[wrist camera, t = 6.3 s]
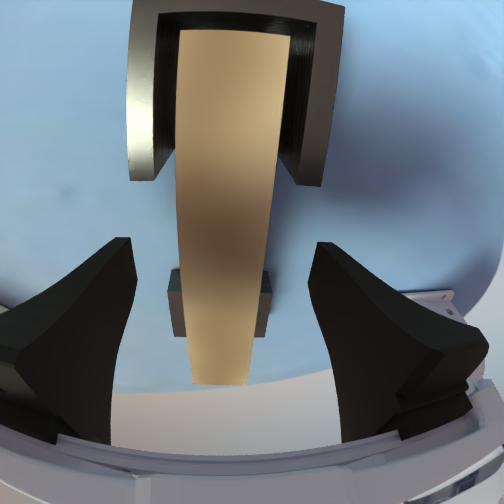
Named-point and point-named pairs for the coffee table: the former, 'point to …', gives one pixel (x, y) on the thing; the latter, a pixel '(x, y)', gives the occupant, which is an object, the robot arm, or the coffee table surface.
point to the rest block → (178, 310)
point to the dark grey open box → (235, 19)
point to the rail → (225, 189)
